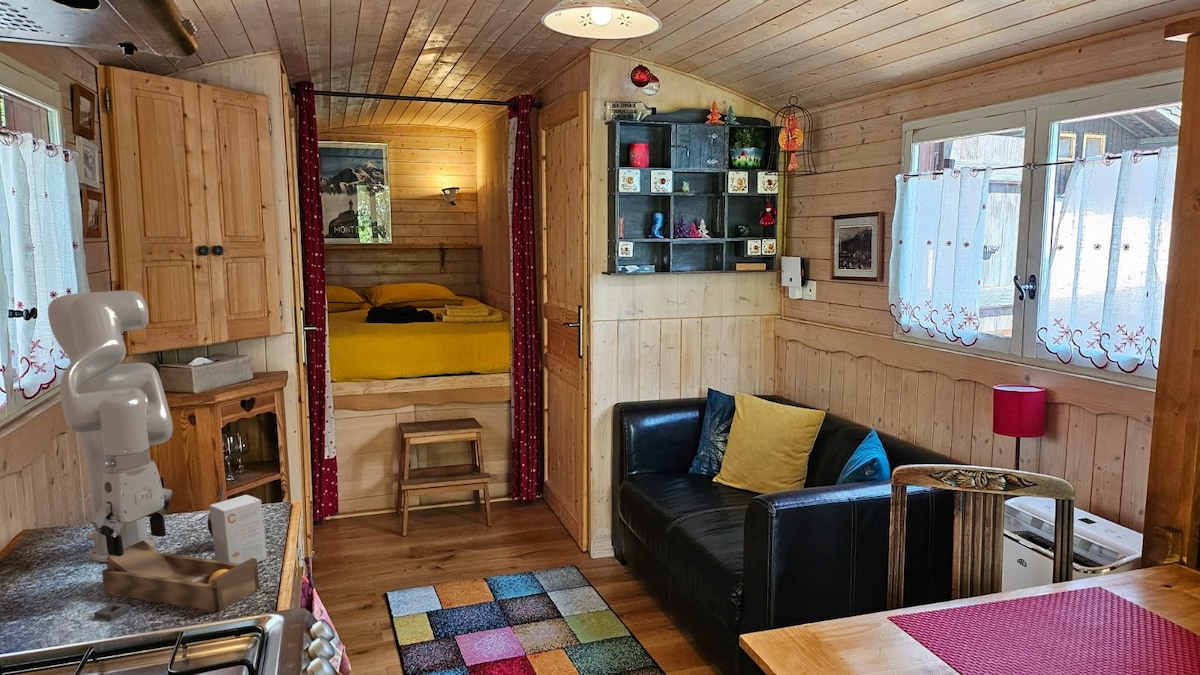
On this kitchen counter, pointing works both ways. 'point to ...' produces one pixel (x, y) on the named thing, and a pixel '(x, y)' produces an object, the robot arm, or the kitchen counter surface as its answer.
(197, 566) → the brown long open tray
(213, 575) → the ball
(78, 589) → the kitchen counter surface
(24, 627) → the kitchen counter surface
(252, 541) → the small box
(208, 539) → the kitchen counter surface
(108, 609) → the square washer
